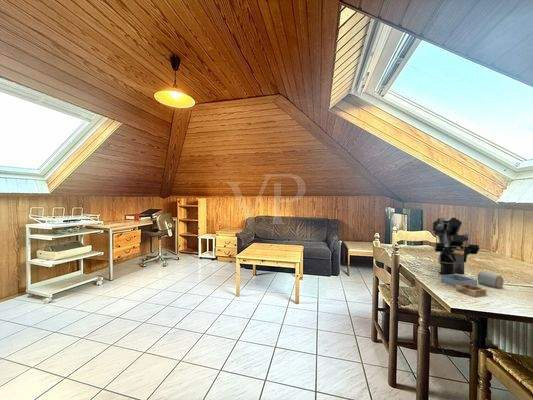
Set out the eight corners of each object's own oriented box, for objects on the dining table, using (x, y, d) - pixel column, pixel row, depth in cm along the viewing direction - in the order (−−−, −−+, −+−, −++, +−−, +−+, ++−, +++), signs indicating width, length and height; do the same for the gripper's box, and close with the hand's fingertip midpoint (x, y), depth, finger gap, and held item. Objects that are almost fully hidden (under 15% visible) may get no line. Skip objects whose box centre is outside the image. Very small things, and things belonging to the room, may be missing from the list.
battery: (451, 272, 124) (451, 246, 124) (457, 271, 125) (457, 246, 125) (460, 274, 120) (460, 248, 120) (466, 274, 121) (466, 248, 121)
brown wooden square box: (454, 292, 114) (453, 285, 114) (467, 290, 116) (467, 283, 116) (474, 299, 105) (474, 291, 105) (488, 297, 107) (488, 289, 107)
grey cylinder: (497, 290, 115) (497, 275, 115) (477, 285, 123) (477, 270, 123) (507, 287, 120) (507, 273, 120) (487, 282, 127) (487, 268, 127)
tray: (441, 282, 127) (440, 275, 127) (455, 281, 129) (455, 273, 130) (461, 289, 117) (461, 281, 117) (476, 287, 119) (476, 280, 119)
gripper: (435, 228, 130) (441, 251, 120) (477, 229, 122) (487, 255, 112) (432, 239, 137) (437, 262, 127) (472, 241, 129) (480, 266, 119)
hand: (459, 261), depth 121 cm, fingers closed on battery, 4 cm apart
